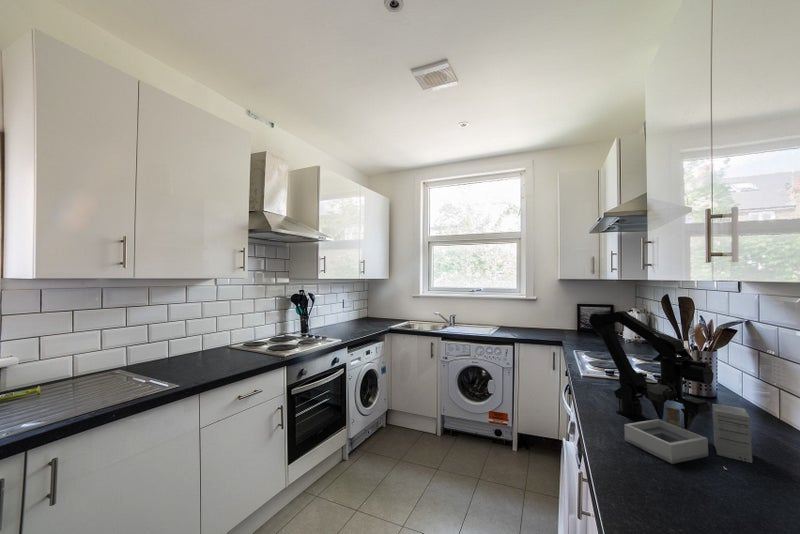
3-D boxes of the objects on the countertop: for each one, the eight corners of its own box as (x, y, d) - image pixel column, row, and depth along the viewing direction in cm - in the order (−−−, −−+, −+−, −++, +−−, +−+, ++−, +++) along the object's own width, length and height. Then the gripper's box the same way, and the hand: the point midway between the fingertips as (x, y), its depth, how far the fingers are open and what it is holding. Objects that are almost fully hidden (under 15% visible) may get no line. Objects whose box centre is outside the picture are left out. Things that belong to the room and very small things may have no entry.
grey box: (624, 440, 105) (624, 424, 105) (658, 434, 109) (657, 418, 109) (671, 463, 91) (671, 445, 92) (708, 456, 95) (707, 438, 95)
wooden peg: (664, 428, 113) (663, 407, 113) (671, 427, 114) (671, 406, 114) (675, 433, 110) (674, 411, 110) (683, 431, 111) (682, 410, 111)
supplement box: (713, 445, 102) (711, 402, 102) (748, 452, 97) (746, 408, 97) (715, 455, 96) (713, 410, 96) (753, 463, 91) (750, 416, 92)
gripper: (627, 371, 119) (628, 416, 119) (683, 387, 101) (686, 439, 101) (650, 368, 122) (652, 412, 122) (710, 384, 104) (712, 435, 104)
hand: (673, 423), depth 112 cm, fingers open, 8 cm apart
